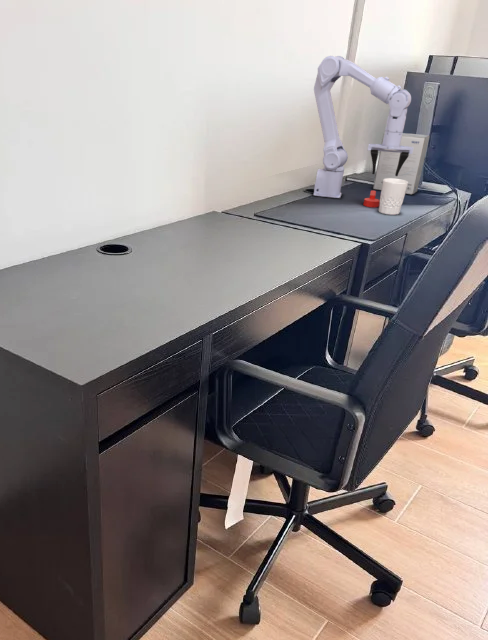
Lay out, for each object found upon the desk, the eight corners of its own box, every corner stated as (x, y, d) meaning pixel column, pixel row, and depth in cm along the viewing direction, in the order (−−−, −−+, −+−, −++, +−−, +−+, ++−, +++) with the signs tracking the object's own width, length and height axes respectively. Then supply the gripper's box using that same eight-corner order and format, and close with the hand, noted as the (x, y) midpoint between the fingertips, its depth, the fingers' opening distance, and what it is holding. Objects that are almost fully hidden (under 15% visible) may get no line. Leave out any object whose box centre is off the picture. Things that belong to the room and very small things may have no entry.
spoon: (378, 208, 197) (380, 199, 195) (362, 206, 198) (364, 197, 196) (379, 199, 207) (381, 191, 206) (364, 198, 209) (366, 189, 207)
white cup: (388, 216, 187) (395, 184, 182) (371, 210, 193) (377, 179, 188) (406, 214, 190) (413, 182, 185) (389, 208, 196) (395, 177, 191)
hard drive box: (417, 192, 222) (431, 135, 211) (412, 195, 216) (426, 137, 206) (377, 186, 229) (388, 131, 218) (371, 189, 223) (383, 132, 213)
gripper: (371, 131, 189) (363, 174, 196) (417, 134, 186) (407, 178, 194) (371, 128, 195) (363, 171, 202) (416, 132, 192) (406, 174, 199)
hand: (384, 174), depth 198 cm, fingers open, 7 cm apart
